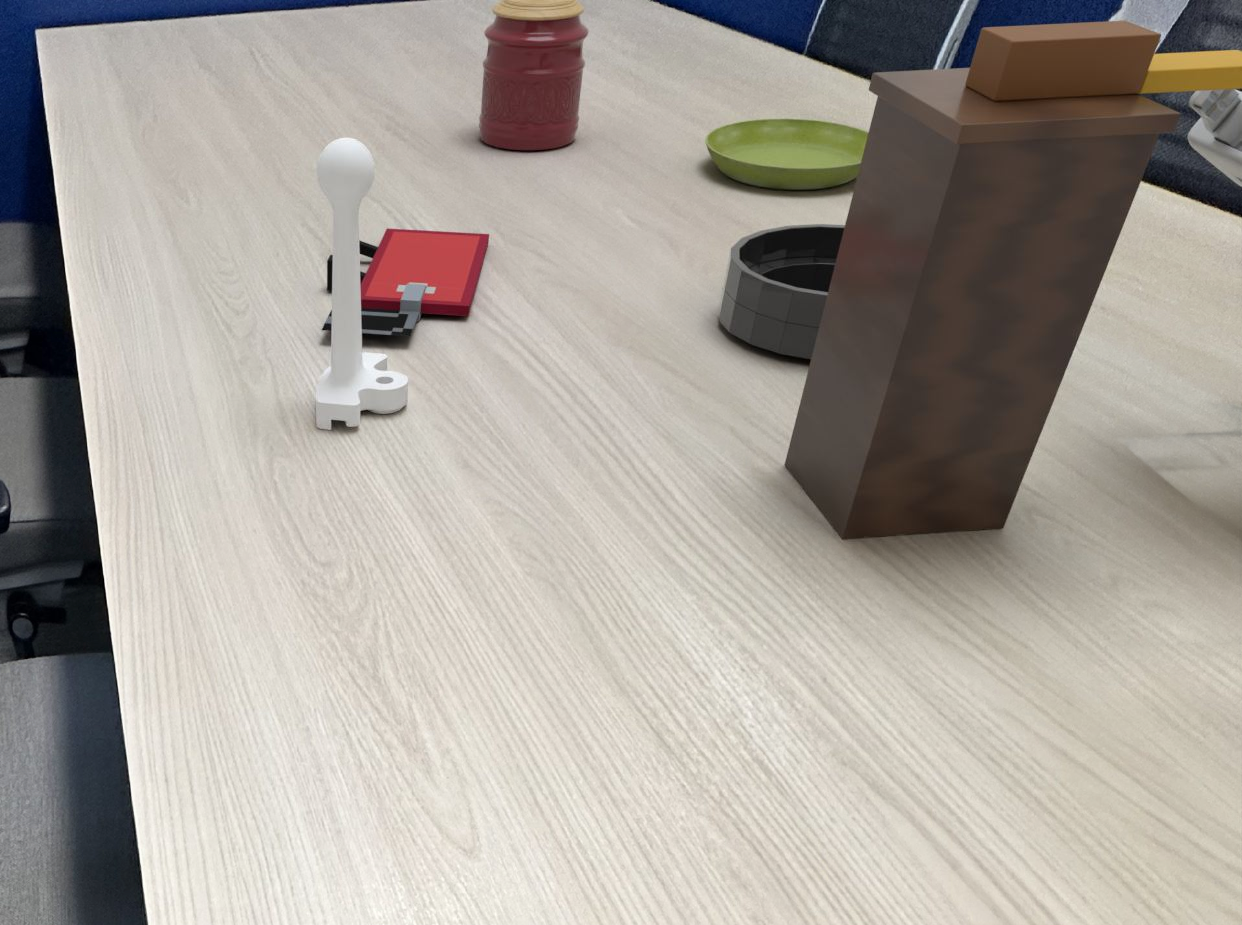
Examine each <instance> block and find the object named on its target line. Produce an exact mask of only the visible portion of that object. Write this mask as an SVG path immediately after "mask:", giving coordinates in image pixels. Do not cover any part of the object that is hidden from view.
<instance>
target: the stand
mask: <svg viewBox="0 0 1242 925" xmlns="http://www.w3.org/2000/svg"><path fill="white" fill-rule="evenodd" d="M969 70H970V67H958V68H957V67H956V68H939V69H938V68H936V69H918V70H917V69H916V70H899V71H897V70H896V71H879V72H872V74H871V79H870V82H869V87H868V91H869V92H870V93H872V94H874V95H876V96H877V98H876V102H875V106H874V109H873V114H872V118H871V121H870V124H869V129H868V132H869V133H868V137H867V141H866V145H865V149H864V153H863V157H862V160H861V164H860V168H859V172H858V176H857V177H856V180H855V184H854V188H853V193H852V196H851V201H850V204H849V208H848V212H847V216H846V220H845V223H844V225H845V228H844V232H843V236H842V240H841V243H840V247H839V251H838V255H837V259H836V263H835V267H834V271H833V275H832V279H831V283H830V287H829V291H828V295H827V299H826V303H825V307H824V311H823V315H822V319H821V322H820V326H819V330H818V334H817V338H816V342H815V346H814V350H813V354H812V358H811V359H810V362H809V366H808V371H807V375H806V378H805V382H804V385H803V389H802V393H801V399H800V402H799V406H798V410H797V414H796V417H795V421H794V424H793V429H792V433H791V437H790V442H789V445H788V449H787V452H786V453H787V454H786V457H785V461H784V467H785V468H787V470H788V471H789V473H791V475H792V476H793V477H794V479H795V480H796V482H797V483H798V484H799V485H800V486H801V488H802V489H803V491H804V492H805V493H806V494H807V495H808V497H809V498H810V500H811V501H812V502H813V503H814V505H815V506H816V507H817V508H818V510H819V511H820V512H821V514H822V515H823V516H824V518H825V519H826V520H827V521H828V522H829V524H830V525H831V526H832V528H833V529H834V530H835V532H836V533H837V534H838V535H839V537H840V538H841V539H842V540H845V539H847V540H848V539H860V538H875V537H876V538H877V537H889V536H890V537H891V536H904V535H905V536H906V535H920V534H921V535H922V534H936V533H951V532H967V531H980V530H981V531H982V530H995V529H996V530H997V529H998V530H999V529H1004V528H1005V526H1006V523H1007V520H1008V518H1009V515H1010V513H1011V511H1012V507H1013V505H1014V502H1015V500H1016V497H1017V495H1018V493H1019V490H1020V487H1021V485H1022V482H1023V480H1024V477H1025V475H1026V472H1027V469H1028V467H1029V464H1030V463H1031V460H1032V457H1033V455H1034V452H1035V450H1036V447H1037V444H1038V442H1039V439H1040V437H1041V434H1042V432H1043V430H1044V427H1045V424H1046V422H1047V419H1048V417H1049V414H1050V412H1051V409H1052V407H1053V404H1054V401H1055V399H1056V396H1057V394H1058V392H1059V389H1060V386H1061V384H1062V381H1063V379H1064V376H1065V374H1066V371H1067V369H1068V366H1069V364H1070V361H1071V358H1072V356H1073V353H1074V351H1075V348H1076V346H1077V344H1078V341H1079V338H1080V337H1081V334H1082V331H1083V329H1084V326H1085V323H1086V321H1087V318H1088V316H1089V313H1090V311H1091V308H1092V306H1093V304H1094V301H1095V299H1096V296H1097V294H1098V290H1099V288H1100V285H1101V283H1102V281H1103V278H1104V275H1105V273H1106V270H1107V268H1108V265H1109V263H1110V260H1111V258H1112V255H1113V253H1114V250H1115V248H1116V245H1117V244H1118V240H1119V238H1120V235H1121V232H1122V230H1123V227H1124V225H1125V223H1126V221H1127V218H1128V215H1129V212H1130V210H1131V207H1132V204H1133V202H1134V200H1135V197H1136V196H1137V192H1138V189H1139V188H1140V184H1141V183H1142V180H1143V177H1144V174H1145V172H1146V169H1147V167H1148V164H1149V162H1150V160H1151V157H1152V154H1153V151H1154V149H1155V147H1156V144H1157V142H1158V139H1159V136H1160V135H1161V134H1173V133H1175V131H1176V128H1177V126H1178V123H1179V121H1180V119H1181V116H1182V113H1181V112H1179V111H1177V110H1174V109H1172V108H1170V107H1168V106H1165V105H1163V104H1161V103H1159V102H1157V101H1154V100H1153V99H1150V98H1147V97H1145V96H1143V95H1142V94H1140V93H1138V94H1127V95H1107V96H1088V97H1069V98H1049V99H1030V100H1011V101H993V100H992V99H990V98H988V97H986V96H984V95H982V94H980V93H978V92H976V91H975V90H973V89H971V88H969V87H967V86H965V83H966V80H967V77H968V73H969Z"/></svg>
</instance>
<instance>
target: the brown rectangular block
mask: <svg viewBox="0 0 1242 925" xmlns="http://www.w3.org/2000/svg"><path fill="white" fill-rule="evenodd" d="M1161 37H1162V34H1161V33H1159V32H1157V31H1155V30H1151V29H1149V28H1146V27H1143V26H1141V25H1138V24H1135V23H1133V22H1130V21H1127V20H1108V21H1088V22H1087V21H1085V22H1067V23H1049V24H1048V23H1046V24H1029V25H1026V24H1025V25H1007V26H1006V25H1005V26H988V27H987V26H986V27H985V26H984V27H982V28H981V29H980V33H979V36H978V40H977V42H976V47H975V50H974V53H973V57H972V60H971V63H970V66H969V68H970V70H969V73H968V77H967V80H966V83H965V86H967V87H969V88H971V89H973V90H975V91H976V92H978V93H980V94H982V95H984V96H986V97H988V98H990V99H992V100H993V101H1011V100H1030V99H1049V98H1069V97H1088V96H1107V95H1127V94H1139V95H1142V94H1143V95H1145V94H1164V93H1181V92H1183V93H1184V92H1196V91H1204V90H1223V89H1235V90H1240V89H1241V90H1242V50H1239V49H1227V50H1225V49H1224V50H1206V51H1205V50H1204V51H1187V52H1186V51H1185V52H1167V53H1166V52H1165V53H1164V52H1163V53H1156V51H1157V47H1158V45H1159V42H1160V40H1161Z"/></svg>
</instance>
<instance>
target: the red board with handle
mask: <svg viewBox="0 0 1242 925" xmlns="http://www.w3.org/2000/svg"><path fill="white" fill-rule="evenodd" d="M489 241H490V234H489V233H477V232H476V233H475V232H460V231H459V232H457V231H441V230H422V229H404V228H403V229H402V228H387V227H386V229H385V232H384V234H383V236H382V238H381V240H380V243H379V245H378V246H376V245H375V244H374V245H373V244H371V243H368V242H365V241H362V240H360V239H359V248H360V255H362V256H365V257H367V258H370V259H372V260H371V262H370V263H369V266H368V267H367V270H366V272H363V271H361V270H360V286H361V324H362V334H371V335H372V334H373V335H387V336H403V337H412V334H413V331H414V329H415V326H416V323H418V322H420V320H421V316H422V314H428V315H440V316H441V315H443V316H457V317H469V316H470V313H471V312H470V311H471V309H472V305H473V301H474V298H475V295H476V290H477V287H478V283H479V279H480V275H481V271H482V268H483V265H484V261H485V257H486V253H487V251H488V246H489V243H490V242H489ZM332 264H333V254H330V255H329V257H328V258H327V261H326V291H327V292H332ZM331 329H332V309H331V310H330V312H329V314H328V316H327V318H326V320H325V322H324V324H323V326H322V328H321V331H325V332H326V331H327V332H331Z"/></svg>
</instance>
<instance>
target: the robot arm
mask: <svg viewBox="0 0 1242 925" xmlns="http://www.w3.org/2000/svg"><path fill="white" fill-rule="evenodd" d="M1188 105H1189V107H1190V108H1191V109H1192V110H1194V112H1196V114H1198V115H1199V116H1200V118H1199V119H1197V121H1196V122H1195V123H1194V125H1193V126H1192V127H1191V128H1190V130H1189V131H1188V133H1187V140H1188V143H1189V145H1190V146H1191V148H1192V149H1193V150H1194V151H1195V152H1197V153H1198V154H1200V156H1201V157H1202V158H1204V159H1205V160H1206V161H1208V162H1209V163H1210V164H1211V165H1212V166H1214V167H1215V168H1216V169H1218V170H1219V172H1221V173H1222V174H1224V175H1225V176H1226V177H1227V178H1229V179H1230V180H1231V181H1233V182H1234V183H1235V184H1236V185H1237V186H1239V187H1241V188H1242V91H1241V90H1239V89H1223V90H1204V91H1194V93H1192V95H1191V96H1190V98H1189V101H1188Z"/></svg>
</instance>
